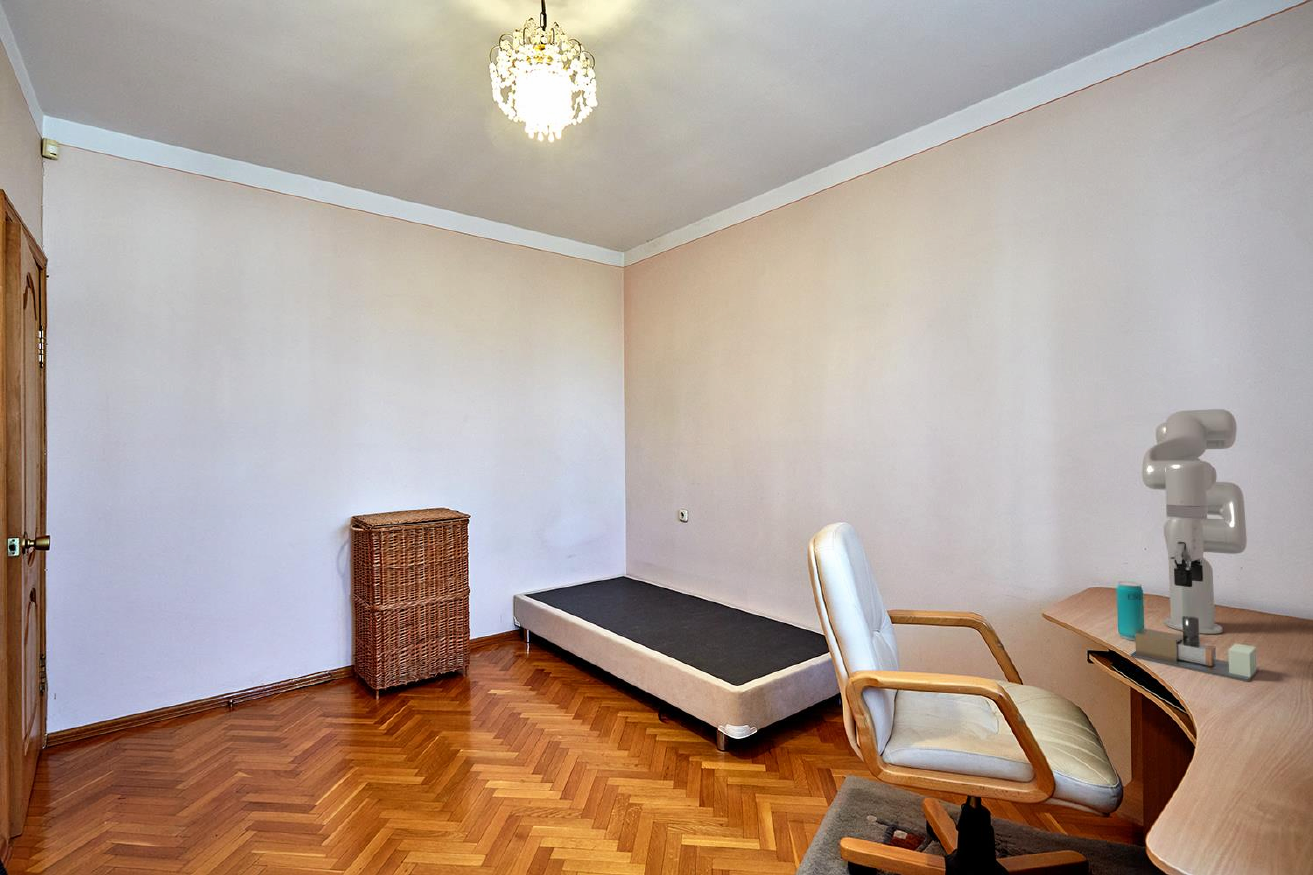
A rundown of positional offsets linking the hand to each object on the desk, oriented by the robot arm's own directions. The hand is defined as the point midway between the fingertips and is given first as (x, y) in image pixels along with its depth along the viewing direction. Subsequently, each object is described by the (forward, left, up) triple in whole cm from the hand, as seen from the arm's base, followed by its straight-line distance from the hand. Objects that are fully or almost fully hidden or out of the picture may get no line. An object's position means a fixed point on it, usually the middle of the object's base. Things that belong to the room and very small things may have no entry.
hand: (1188, 583), depth 148 cm
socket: (0, +9, -19) cm, 21 cm away
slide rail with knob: (0, 0, -19) cm, 19 cm away
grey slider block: (0, -3, -19) cm, 20 cm away
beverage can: (-12, -15, -20) cm, 28 cm away
